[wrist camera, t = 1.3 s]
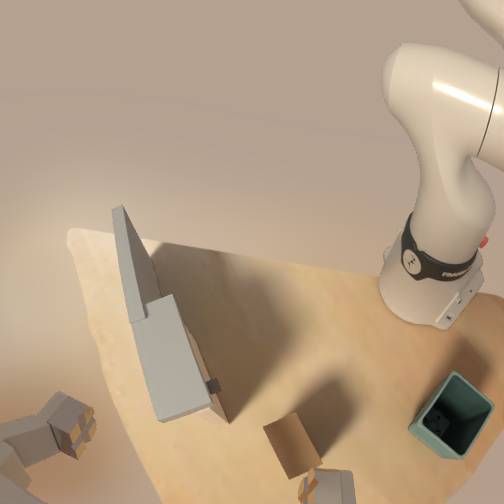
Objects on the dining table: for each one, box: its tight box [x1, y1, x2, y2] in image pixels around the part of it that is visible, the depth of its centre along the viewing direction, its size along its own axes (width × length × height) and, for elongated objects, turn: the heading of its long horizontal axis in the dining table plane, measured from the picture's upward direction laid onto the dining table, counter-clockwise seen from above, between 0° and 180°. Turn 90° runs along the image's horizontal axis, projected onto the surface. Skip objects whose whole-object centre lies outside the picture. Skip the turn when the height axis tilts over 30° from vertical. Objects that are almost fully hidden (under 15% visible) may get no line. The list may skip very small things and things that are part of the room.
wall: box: [112, 205, 214, 423], centre depth 44 cm, size 6×34×15 cm, turn 24°
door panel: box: [184, 324, 229, 428], centre depth 39 cm, size 3×14×12 cm, turn 24°
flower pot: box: [408, 371, 495, 460], centre depth 31 cm, size 9×9×9 cm
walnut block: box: [263, 412, 323, 480], centre depth 33 cm, size 4×7×9 cm, turn 24°
